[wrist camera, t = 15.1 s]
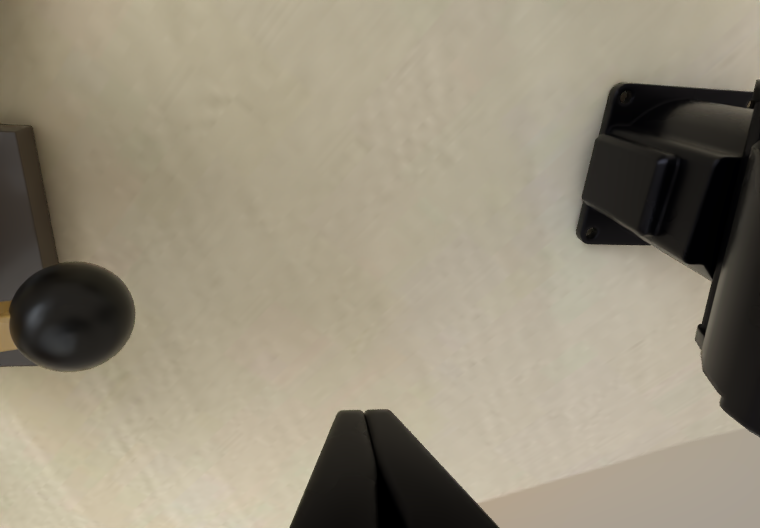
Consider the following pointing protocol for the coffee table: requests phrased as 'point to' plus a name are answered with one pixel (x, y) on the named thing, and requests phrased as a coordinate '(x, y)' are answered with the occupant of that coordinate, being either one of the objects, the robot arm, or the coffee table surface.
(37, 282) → the lever
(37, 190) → the lamp switch
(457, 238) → the coffee table surface
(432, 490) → the robot arm
